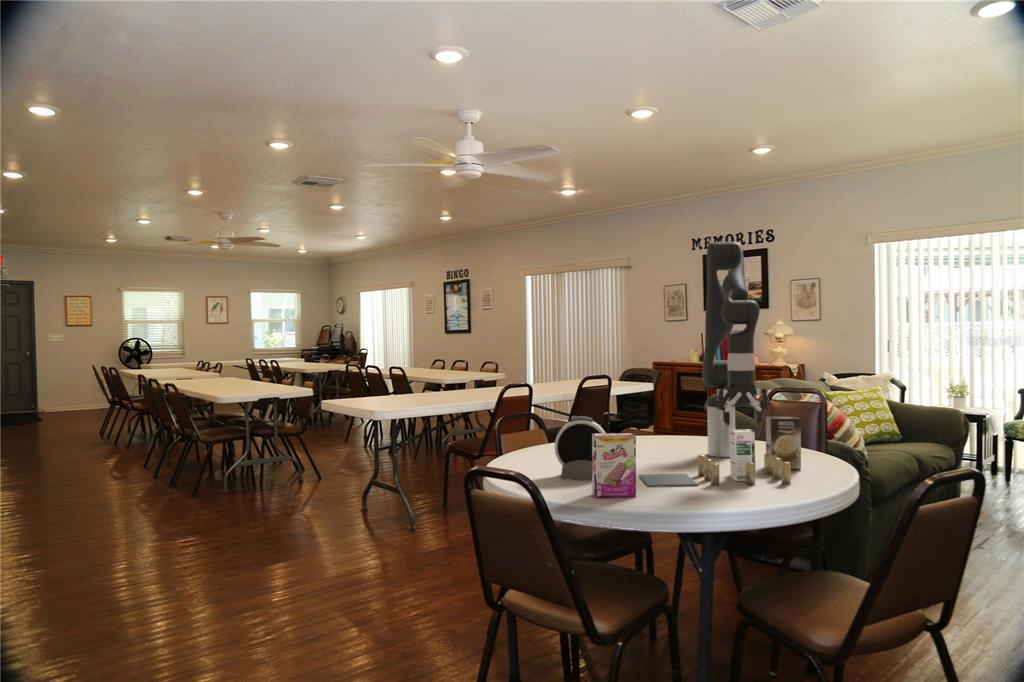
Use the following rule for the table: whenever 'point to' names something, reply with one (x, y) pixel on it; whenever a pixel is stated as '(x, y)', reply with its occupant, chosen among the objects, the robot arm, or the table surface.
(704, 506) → the table surface
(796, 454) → the coffee box
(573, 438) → the alarm clock
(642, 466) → the table surface
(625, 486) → the candy bar box
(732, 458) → the syrup box
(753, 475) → the spacer field
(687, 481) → the mat
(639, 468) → the table surface
